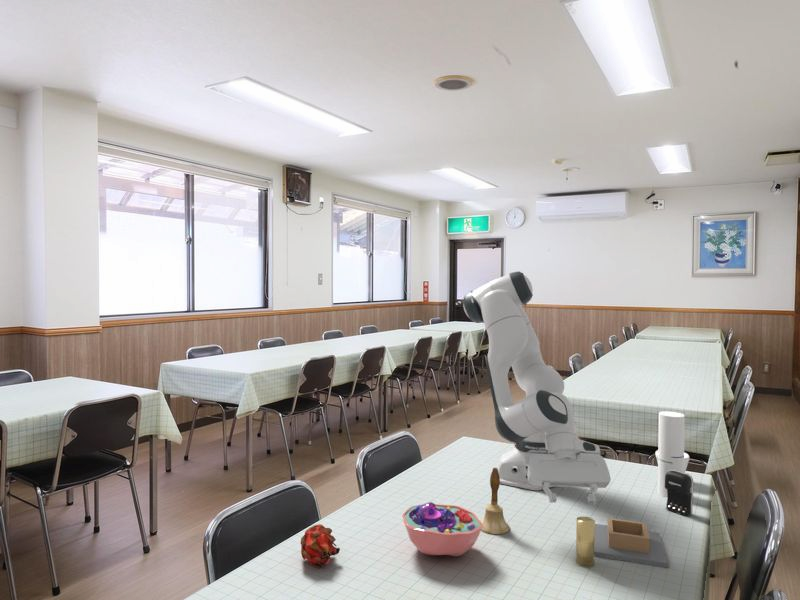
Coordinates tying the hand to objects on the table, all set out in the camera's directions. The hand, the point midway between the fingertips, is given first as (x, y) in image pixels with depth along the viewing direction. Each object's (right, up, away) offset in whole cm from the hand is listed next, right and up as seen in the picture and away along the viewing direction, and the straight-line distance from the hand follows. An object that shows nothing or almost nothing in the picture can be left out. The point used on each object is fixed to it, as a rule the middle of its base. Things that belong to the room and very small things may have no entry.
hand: (572, 502), depth 130 cm
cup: (+48, -11, +45) cm, 66 cm away
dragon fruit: (-62, -12, -6) cm, 63 cm away
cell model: (-32, -12, -1) cm, 34 cm away
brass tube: (+1, -12, -6) cm, 13 cm away
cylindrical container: (+42, -11, +34) cm, 55 cm away
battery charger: (+37, -11, +21) cm, 44 cm away
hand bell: (-17, -11, +12) cm, 24 cm away
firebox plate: (+14, -11, +2) cm, 18 cm away
